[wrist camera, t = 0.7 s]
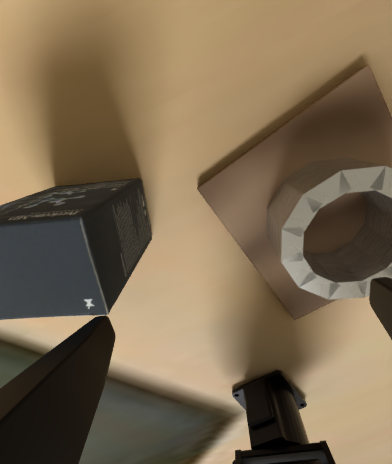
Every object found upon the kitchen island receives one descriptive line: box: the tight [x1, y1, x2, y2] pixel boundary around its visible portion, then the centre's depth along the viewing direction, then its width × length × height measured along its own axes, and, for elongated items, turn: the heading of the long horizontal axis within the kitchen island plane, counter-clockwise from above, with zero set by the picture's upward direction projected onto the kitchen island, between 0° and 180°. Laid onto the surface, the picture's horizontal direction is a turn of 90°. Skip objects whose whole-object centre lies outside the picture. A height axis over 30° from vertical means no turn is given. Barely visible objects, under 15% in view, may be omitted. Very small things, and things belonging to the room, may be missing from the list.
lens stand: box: [197, 65, 392, 320], centre depth 21 cm, size 16×14×1 cm
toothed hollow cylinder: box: [267, 158, 392, 300], centre depth 18 cm, size 9×9×4 cm
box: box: [0, 178, 152, 320], centre depth 17 cm, size 8×6×11 cm
